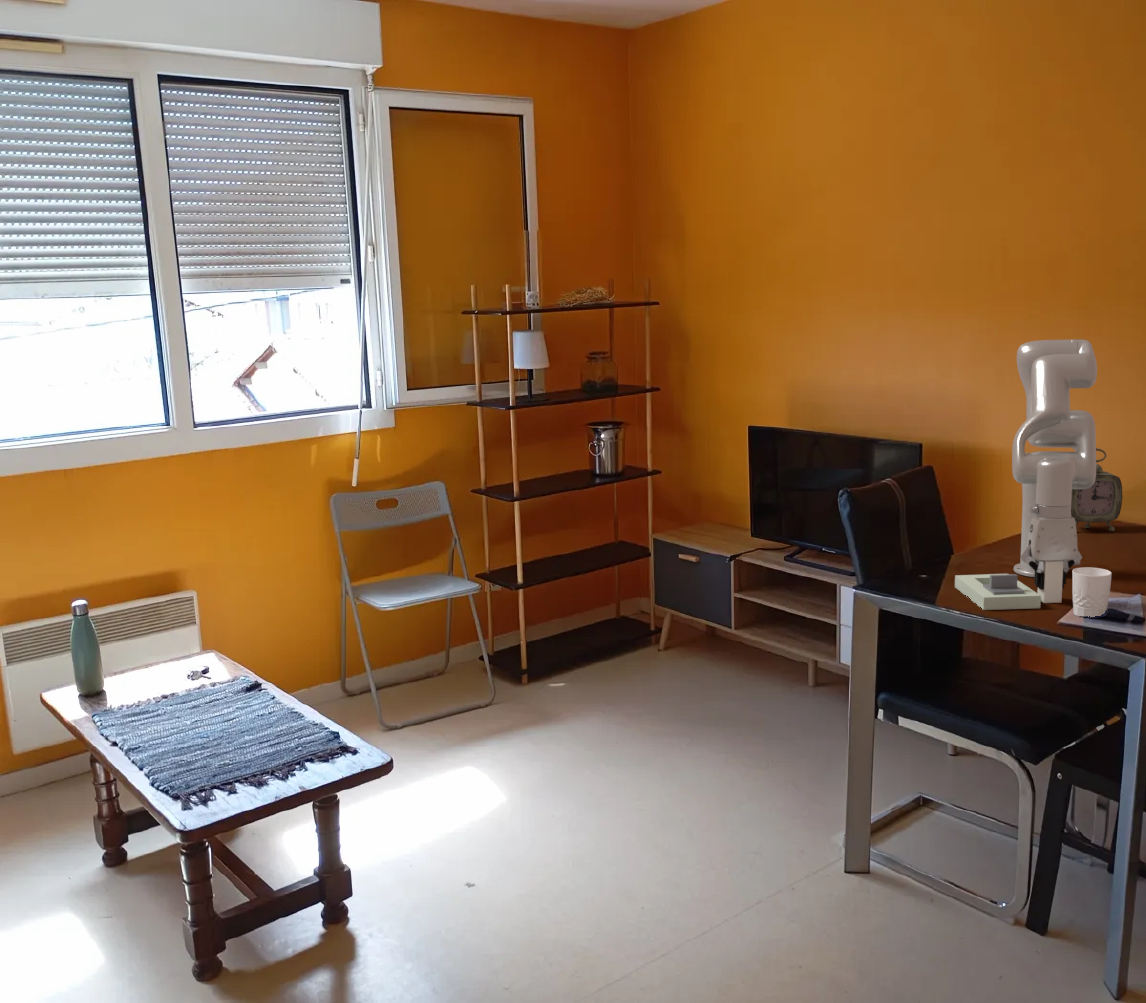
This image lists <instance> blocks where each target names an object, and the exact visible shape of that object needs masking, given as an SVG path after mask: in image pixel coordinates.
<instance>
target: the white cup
mask: <svg viewBox="0 0 1146 1003" xmlns="http://www.w3.org/2000/svg"><path fill="white" fill-rule="evenodd" d="M1071 572H1072V576H1071V577H1072V583H1071V585H1072V587H1071V588H1072V591H1071V592H1072V595H1071V596H1072V606H1073V607H1072V609H1073V610H1072V613H1073V615H1075V616H1076V617H1079V616H1088V617H1089V616H1090V617H1095V616H1101V615H1102V614H1104V613H1105V611H1106V610H1107V611H1108V604H1109V599H1110V593H1111V586H1112V585H1111V584H1112V583H1111V582H1112V574H1113V573H1112V572H1111V570H1108V569H1105V568H1101V567H1100V568H1099V567H1090V566H1089V567H1088V566H1086V567H1076V568H1073V569H1072V571H1071Z"/></svg>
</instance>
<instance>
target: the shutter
mask: <svg viewBox="0 0 1146 1003" xmlns="http://www.w3.org/2000/svg"><path fill="white" fill-rule="evenodd" d="M1006 574H1007V575H990V584H983V587H984V588H986V589H987V590H988V591H990V592H991V593H992V594H1024V590H1022V589H1021V588H1019V587H1018V586H1017V580H1018V576H1019V574H1017V573H1013V574H1012V573H1010V574H1009V573H1006Z"/></svg>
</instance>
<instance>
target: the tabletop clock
mask: <svg viewBox="0 0 1146 1003" xmlns="http://www.w3.org/2000/svg"><path fill="white" fill-rule="evenodd" d="M1096 452H1101V453H1103V455H1104V456H1103V457H1102V458H1100V459H1096V478H1095V482H1094V484H1093V486H1092V487H1090V488H1088V489H1072V497H1071V517H1074V518H1075V523H1076V526H1077V525H1078V524H1079V522H1082V523H1083V522H1085V523H1086V524H1084V529H1086V528H1089V529H1090V528H1091V527H1092V526H1091V524H1090V523H1104V522H1105V523H1106V524H1107V526H1108V531H1109V532H1110V531H1113V532H1114V531H1115V530H1116V528H1115V527H1114V526H1112V525H1111V523H1110V522H1112V521H1115V520H1116V519H1118V518H1119V516H1120V513H1121V509H1122V505H1123V504H1122V503H1123V486H1122V484H1123V483H1122V481H1121V478H1120V477H1119V476H1118V475H1115V474H1112V473H1111V472H1108V471H1104V470H1103V467H1102V465H1101V464H1098V463H1100V462H1103V461H1104V460H1105V459H1106V458H1107V453H1106V451H1104V450H1103V449H1101V448H1097V447H1096ZM1077 529H1078V528H1076V531H1077Z"/></svg>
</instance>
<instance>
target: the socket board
mask: <svg viewBox="0 0 1146 1003" xmlns="http://www.w3.org/2000/svg"><path fill="white" fill-rule="evenodd" d="M1007 574H1008V573H988V574H961V575H959V574H958V575H957V574H956V575H954V588H955V589H956V590H958V591H960V593H961V594H963V595H964V596H965V595H966V596H965V597H967V596H968V597H969V598H970V599H971V600H970V599H969V598H968V597H967V598H968V599H969V600H970V601H972V602H973V603H974V604H975V603H976V604H977V605H976V604H975V605H976V606H977V607H979V608H980V607H981V608H982V609H981V608H980V609H981V610H982V611H992V610H993V611H994V610H995V611H996V610H1024V609H1027V610H1028V609H1041V602H1042V601H1041V595H1039V594H1038V593H1037V592H1036V591H1035V590H1033V589H1031V588H1030V587H1029V586H1028V585H1026V584H1024V583H1023V582H1021V581H1020V580H1019V579H1017V586H1018V587H1019V588H1021V589H1022V590H1024V594H992V593H991V592H990V591H988V590H987V589H986V588H984V587H983V584H990V575H1007Z"/></svg>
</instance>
